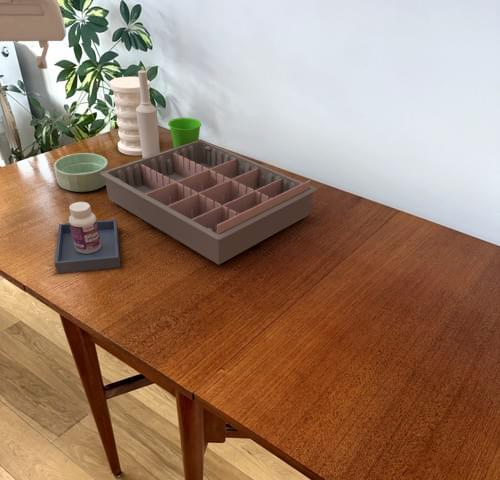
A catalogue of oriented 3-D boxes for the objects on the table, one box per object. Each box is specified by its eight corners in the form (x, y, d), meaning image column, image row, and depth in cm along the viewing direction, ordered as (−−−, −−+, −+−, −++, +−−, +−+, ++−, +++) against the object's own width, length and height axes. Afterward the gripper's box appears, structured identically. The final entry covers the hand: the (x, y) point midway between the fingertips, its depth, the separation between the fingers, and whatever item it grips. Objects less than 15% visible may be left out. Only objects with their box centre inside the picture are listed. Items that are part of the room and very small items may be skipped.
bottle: (157, 178, 125) (146, 75, 108) (140, 174, 126) (127, 72, 109) (165, 170, 129) (157, 70, 112) (149, 167, 130) (137, 67, 113)
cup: (207, 159, 135) (206, 120, 128) (195, 171, 129) (194, 131, 121) (178, 154, 137) (175, 115, 129) (165, 166, 131) (162, 126, 123)
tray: (57, 273, 92) (54, 263, 91) (61, 233, 103) (58, 223, 101) (120, 267, 95) (118, 257, 93) (117, 229, 105) (116, 219, 104)
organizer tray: (201, 167, 131) (200, 131, 124) (313, 219, 112) (319, 180, 105) (105, 204, 114) (97, 164, 107) (218, 273, 94) (218, 230, 88)
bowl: (56, 195, 116) (51, 176, 112) (59, 172, 125) (55, 154, 122) (111, 191, 118) (108, 172, 115) (110, 169, 128) (107, 151, 124)
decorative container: (110, 147, 139) (99, 81, 126) (140, 137, 145) (132, 73, 133) (135, 158, 133) (126, 91, 121) (165, 148, 140) (159, 82, 128)
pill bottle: (92, 257, 96) (82, 215, 89) (70, 251, 97) (59, 209, 91) (106, 244, 100) (98, 203, 93) (85, 238, 101) (76, 197, 94)
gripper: (-84, -24, 73) (-49, 74, 82) (53, -21, 77) (72, 72, 86) (-74, -29, 77) (-41, 64, 87) (55, -26, 81) (73, 63, 91)
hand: (16, 68), depth 87 cm, fingers open, 8 cm apart
